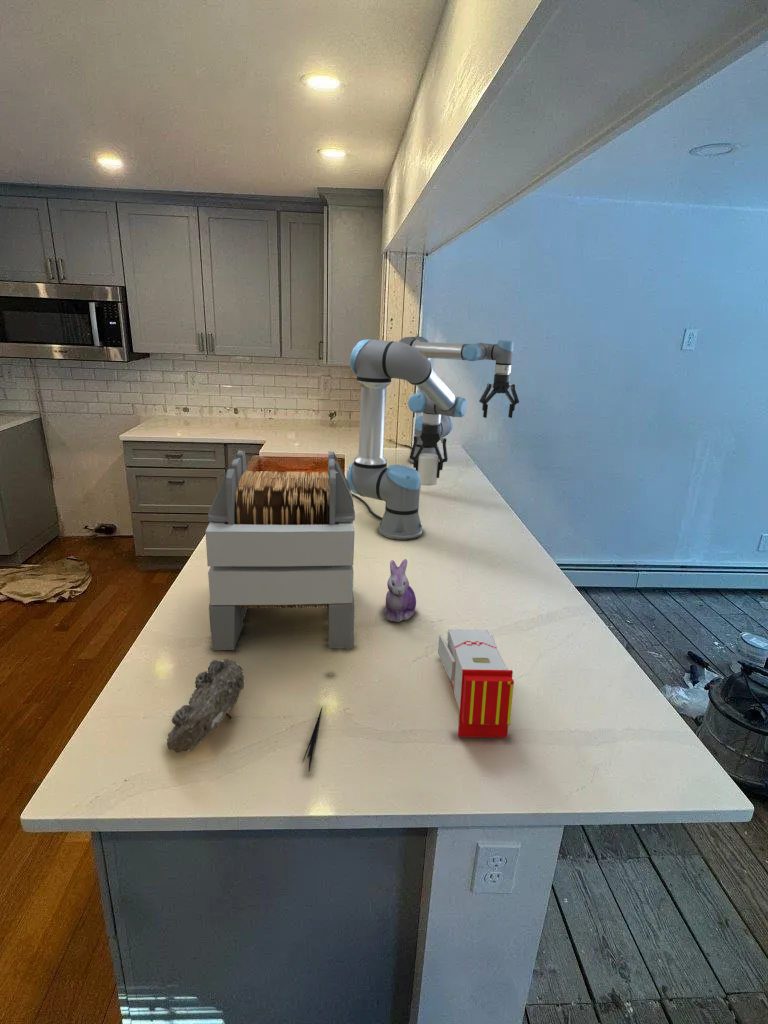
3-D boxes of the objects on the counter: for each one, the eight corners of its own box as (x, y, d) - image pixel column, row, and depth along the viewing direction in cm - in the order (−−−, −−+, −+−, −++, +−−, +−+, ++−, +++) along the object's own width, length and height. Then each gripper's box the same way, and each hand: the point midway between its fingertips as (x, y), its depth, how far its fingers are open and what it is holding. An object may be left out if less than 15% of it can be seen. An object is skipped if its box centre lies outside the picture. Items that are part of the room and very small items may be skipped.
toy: (488, 613, 130) (523, 677, 101) (484, 667, 133) (517, 744, 104) (435, 612, 130) (455, 676, 101) (432, 666, 133) (451, 743, 103)
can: (437, 481, 246) (440, 454, 242) (435, 486, 238) (438, 458, 234) (418, 479, 247) (420, 452, 243) (415, 484, 239) (417, 457, 235)
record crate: (231, 583, 159) (223, 441, 145) (347, 582, 163) (350, 443, 149) (209, 653, 127) (196, 479, 114) (354, 649, 131) (359, 481, 117)
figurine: (392, 627, 141) (395, 572, 136) (374, 608, 149) (376, 556, 144) (425, 619, 145) (429, 566, 140) (405, 601, 154) (408, 550, 149)
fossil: (192, 660, 117) (244, 628, 112) (224, 691, 120) (276, 661, 115) (142, 746, 98) (202, 712, 93) (182, 779, 101) (242, 748, 96)
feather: (331, 679, 122) (336, 673, 122) (307, 777, 96) (313, 769, 95) (324, 675, 122) (329, 669, 121) (298, 772, 95) (304, 764, 95)
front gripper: (457, 423, 236) (452, 476, 243) (406, 420, 239) (403, 471, 246) (456, 427, 229) (451, 480, 236) (404, 423, 232) (401, 476, 239)
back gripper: (481, 374, 268) (476, 418, 275) (529, 375, 274) (523, 418, 281) (475, 372, 275) (471, 415, 282) (522, 373, 281) (517, 416, 288)
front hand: (427, 476), depth 241 cm, fingers closed on can, 9 cm apart
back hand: (497, 417), depth 282 cm, fingers open, 13 cm apart
